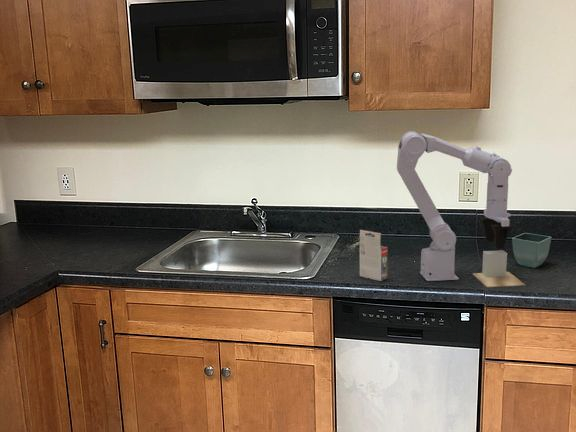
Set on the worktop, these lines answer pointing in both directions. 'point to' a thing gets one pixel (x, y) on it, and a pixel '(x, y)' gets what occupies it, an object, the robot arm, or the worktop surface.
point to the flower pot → (531, 249)
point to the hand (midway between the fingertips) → (494, 244)
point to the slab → (494, 263)
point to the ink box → (372, 256)
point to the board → (499, 280)
